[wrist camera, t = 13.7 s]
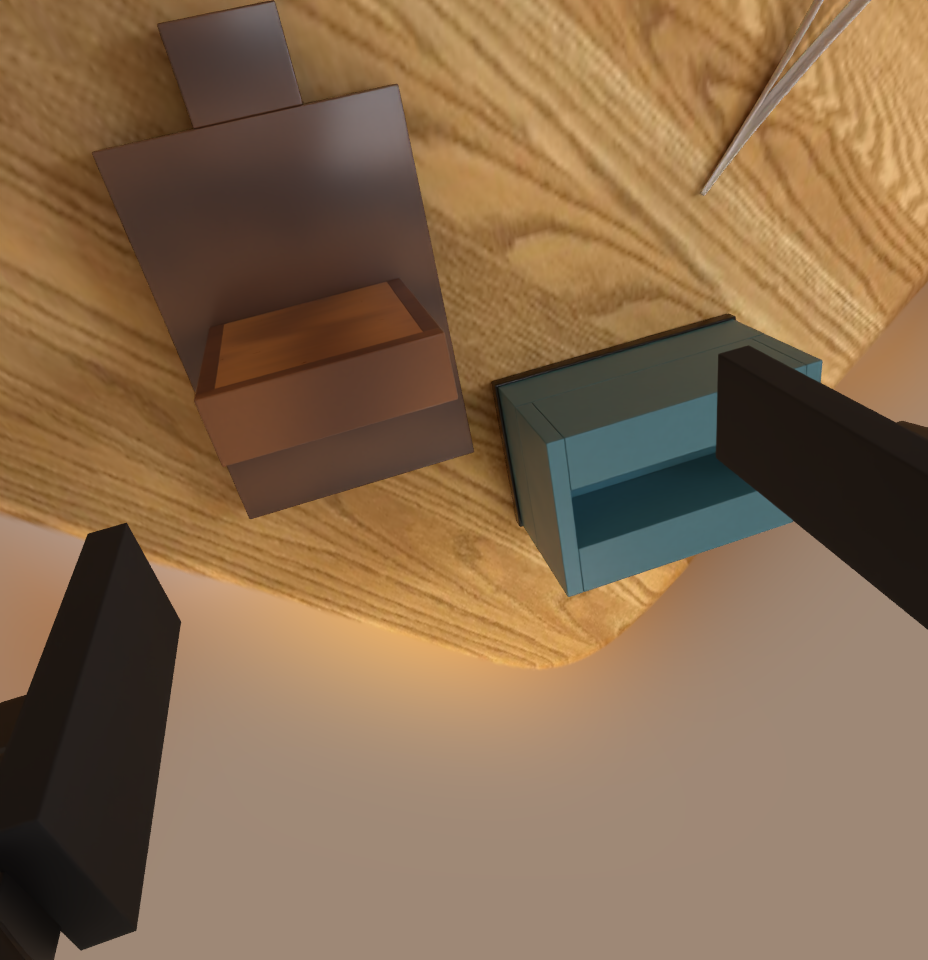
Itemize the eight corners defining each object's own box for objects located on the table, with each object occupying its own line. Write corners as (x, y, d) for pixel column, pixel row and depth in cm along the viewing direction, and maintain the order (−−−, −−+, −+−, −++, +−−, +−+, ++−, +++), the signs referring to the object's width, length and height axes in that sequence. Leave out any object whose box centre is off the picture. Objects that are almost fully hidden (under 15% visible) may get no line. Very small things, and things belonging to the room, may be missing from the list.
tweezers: (884, -159, 34) (915, -169, 32) (931, -89, 36) (963, -95, 34) (662, 168, 40) (679, 173, 38) (714, 211, 42) (732, 218, 41)
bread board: (466, 438, 44) (474, 452, 42) (250, 503, 42) (249, 520, 40) (370, -15, 31) (376, -22, 30) (57, 49, 30) (45, 46, 28)
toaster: (516, 521, 48) (565, 600, 40) (490, 381, 42) (542, 442, 35) (739, 450, 50) (825, 513, 43) (742, 308, 45) (842, 351, 37)
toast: (230, 382, 36) (222, 467, 28) (208, 327, 35) (192, 400, 26) (413, 332, 38) (459, 399, 29) (400, 277, 36) (444, 331, 27)
